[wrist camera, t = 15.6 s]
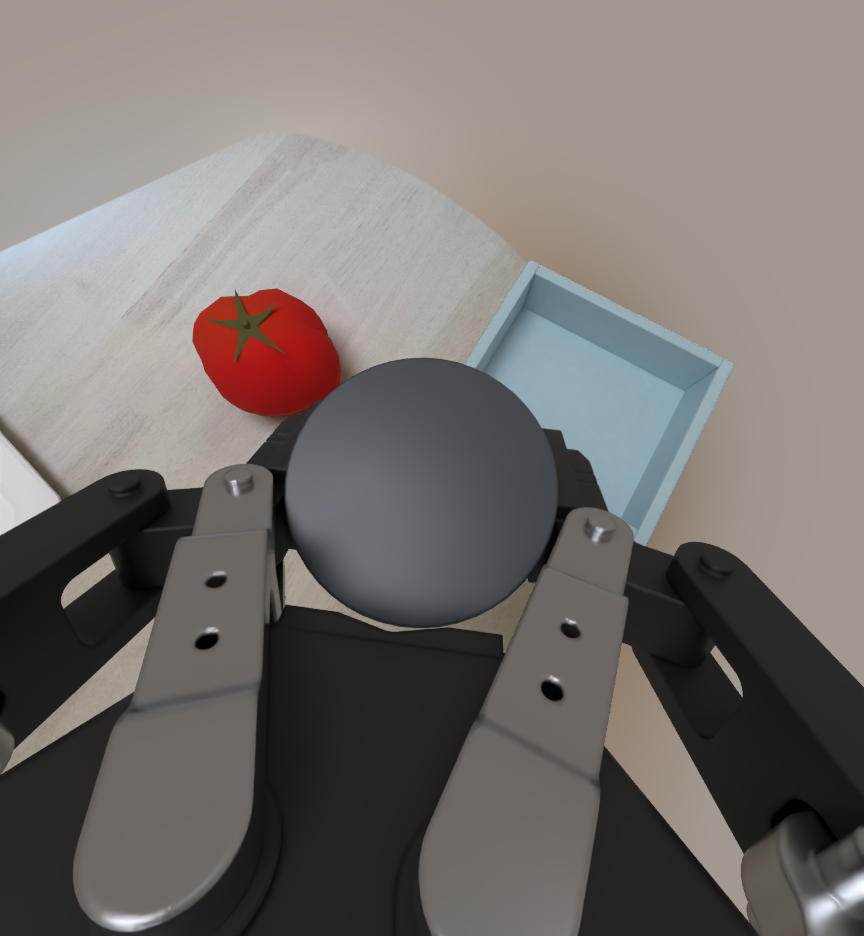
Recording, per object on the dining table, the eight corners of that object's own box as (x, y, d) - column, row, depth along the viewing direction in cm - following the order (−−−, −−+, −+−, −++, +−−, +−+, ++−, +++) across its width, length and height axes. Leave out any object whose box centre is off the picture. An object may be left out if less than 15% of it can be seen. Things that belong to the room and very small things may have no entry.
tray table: (584, 464, 43) (735, 363, 21) (534, 557, 41) (645, 548, 20) (482, 408, 44) (529, 259, 23) (429, 495, 42) (426, 423, 21)
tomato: (329, 445, 43) (298, 410, 33) (208, 410, 44) (143, 365, 34) (366, 345, 46) (347, 283, 36) (250, 312, 46) (201, 243, 36)
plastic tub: (524, 498, 16) (605, 436, 9) (453, 627, 15) (474, 688, 8) (403, 430, 17) (377, 313, 9) (328, 549, 16) (227, 532, 8)
